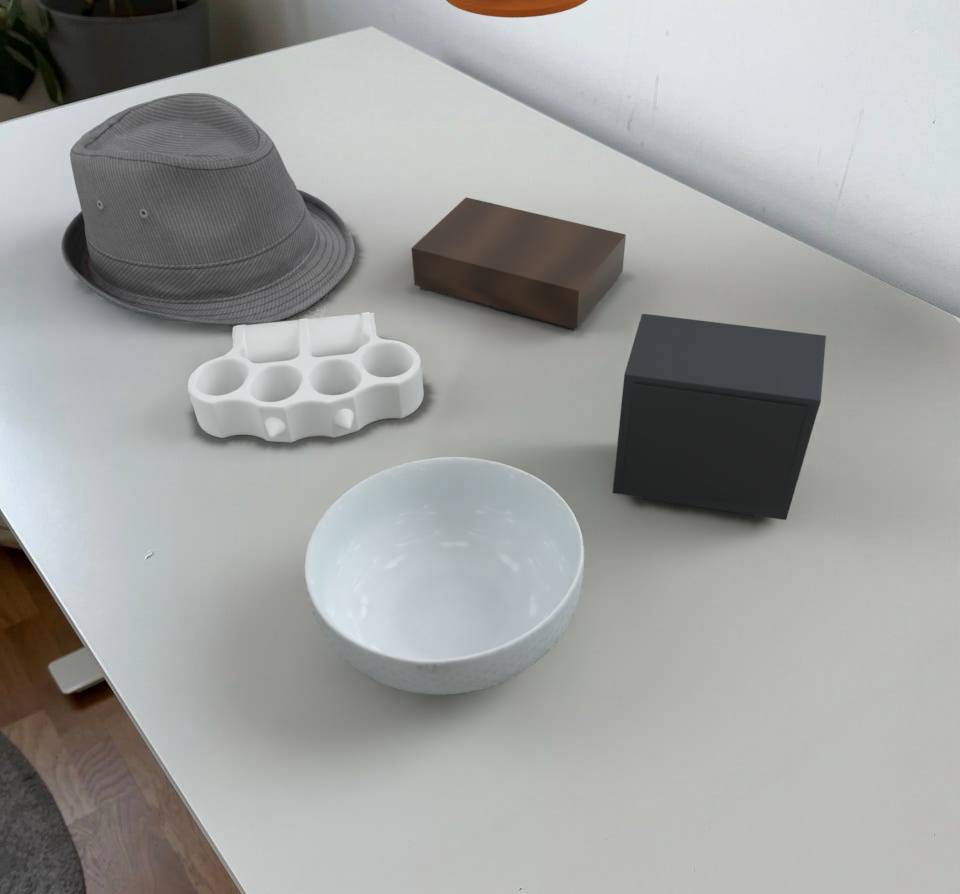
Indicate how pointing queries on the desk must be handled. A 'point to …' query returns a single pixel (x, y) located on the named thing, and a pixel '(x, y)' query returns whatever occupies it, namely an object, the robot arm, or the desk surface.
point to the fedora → (198, 217)
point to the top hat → (515, 7)
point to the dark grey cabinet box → (717, 414)
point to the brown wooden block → (519, 262)
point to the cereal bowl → (445, 573)
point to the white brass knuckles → (306, 380)
